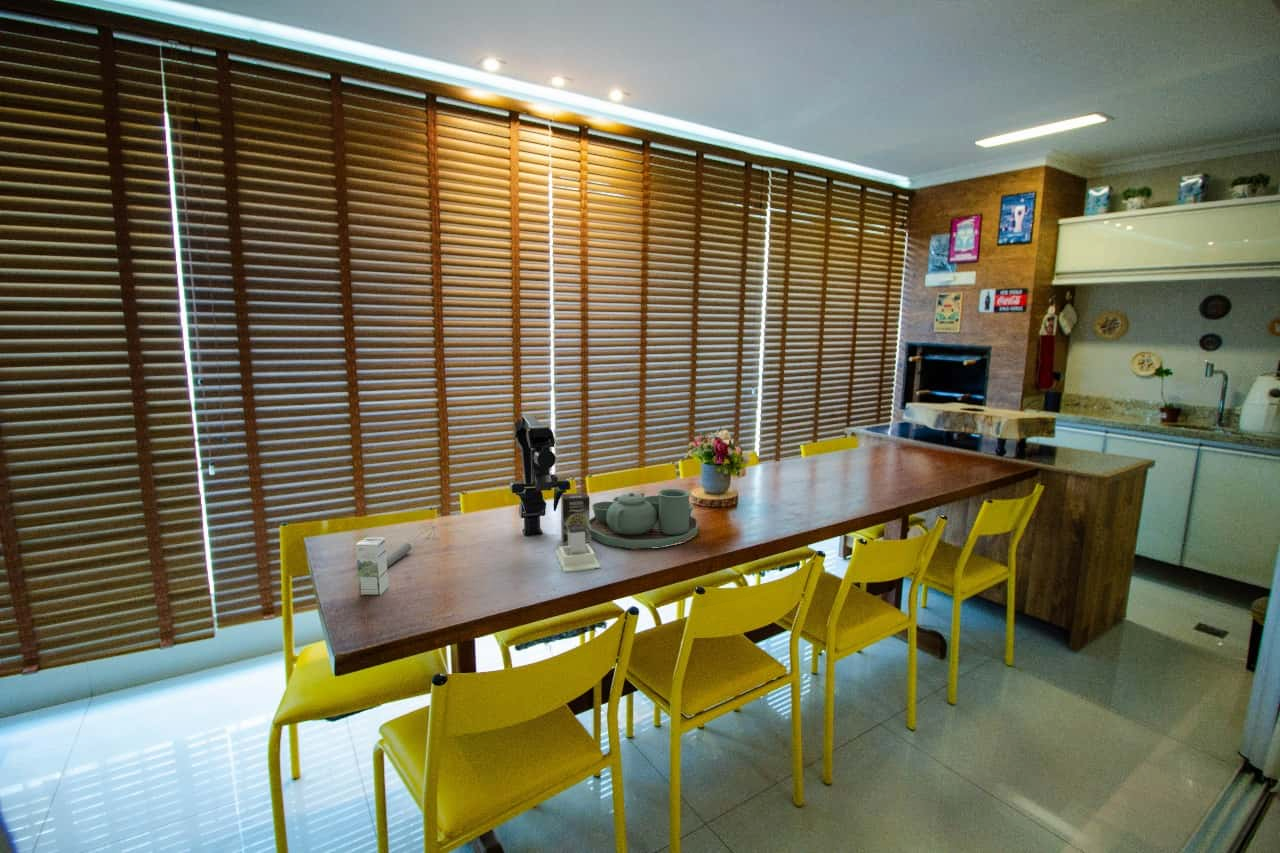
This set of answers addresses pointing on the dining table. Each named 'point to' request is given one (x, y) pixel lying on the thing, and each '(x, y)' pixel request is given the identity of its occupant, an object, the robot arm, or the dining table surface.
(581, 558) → the collar holder
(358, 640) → the dining table surface
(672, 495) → the tea set
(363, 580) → the syrup box
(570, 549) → the grey tall block
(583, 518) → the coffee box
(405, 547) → the kitchen whisk
